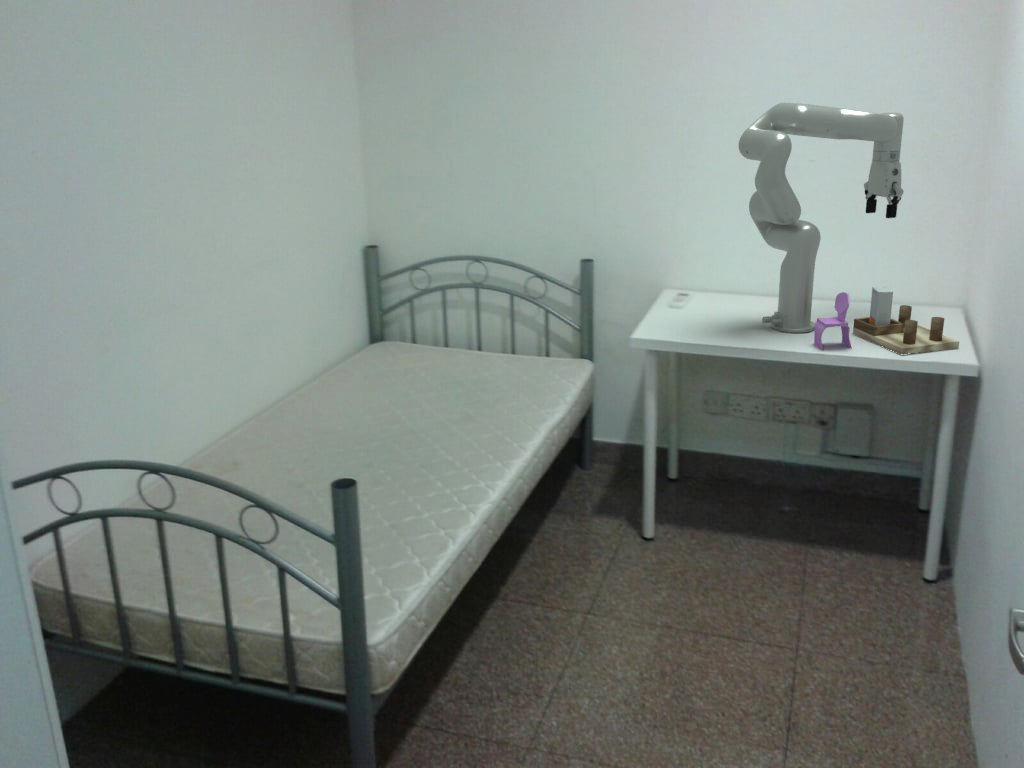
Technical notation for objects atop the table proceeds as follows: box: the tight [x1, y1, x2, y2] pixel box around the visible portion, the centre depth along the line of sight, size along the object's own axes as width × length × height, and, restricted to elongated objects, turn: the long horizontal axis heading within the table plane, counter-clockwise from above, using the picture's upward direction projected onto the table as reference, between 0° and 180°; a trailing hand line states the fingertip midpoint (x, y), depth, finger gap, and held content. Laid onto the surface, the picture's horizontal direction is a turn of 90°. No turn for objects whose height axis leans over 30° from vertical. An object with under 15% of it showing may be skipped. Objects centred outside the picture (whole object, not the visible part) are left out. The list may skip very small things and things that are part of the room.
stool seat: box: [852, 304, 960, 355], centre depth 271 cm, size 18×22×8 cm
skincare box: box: [869, 286, 894, 326], centre depth 274 cm, size 6×4×12 cm
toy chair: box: [813, 291, 853, 351], centre depth 268 cm, size 8×9×15 cm
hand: (880, 215), depth 291 cm, fingers open, 9 cm apart
